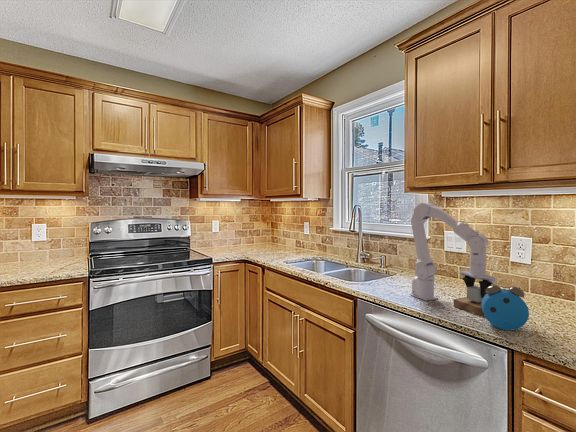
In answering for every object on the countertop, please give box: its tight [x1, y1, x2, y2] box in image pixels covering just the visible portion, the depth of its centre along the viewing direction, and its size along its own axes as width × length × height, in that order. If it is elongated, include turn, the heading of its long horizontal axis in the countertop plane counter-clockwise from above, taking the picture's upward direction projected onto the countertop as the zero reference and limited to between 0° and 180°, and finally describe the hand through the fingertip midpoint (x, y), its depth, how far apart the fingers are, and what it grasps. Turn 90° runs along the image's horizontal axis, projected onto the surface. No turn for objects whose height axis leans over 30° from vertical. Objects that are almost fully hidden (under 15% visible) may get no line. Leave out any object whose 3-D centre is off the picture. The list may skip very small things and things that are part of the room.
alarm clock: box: [481, 284, 530, 331], centre depth 109 cm, size 13×6×15 cm, turn 66°
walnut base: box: [453, 296, 485, 316], centre depth 129 cm, size 12×12×3 cm
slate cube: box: [466, 285, 483, 302], centre depth 129 cm, size 5×5×5 cm
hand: (476, 295), depth 129 cm, fingers closed on slate cube, 5 cm apart
